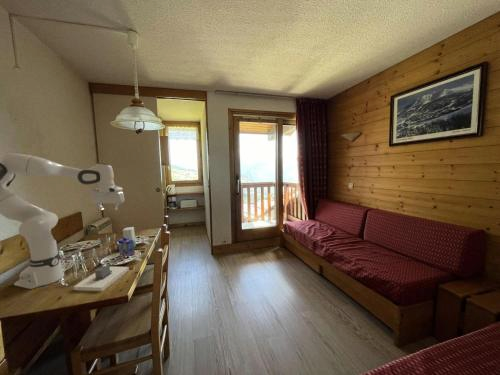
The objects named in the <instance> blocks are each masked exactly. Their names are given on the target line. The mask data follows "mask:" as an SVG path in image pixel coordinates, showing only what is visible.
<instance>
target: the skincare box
mask: <svg viewBox="0 0 500 375" xmlns="http://www.w3.org/2000/svg"><path fill="white" fill-rule="evenodd" d="M122 237H125V238H128V239H133V242H134V248H135V247H136V245H137V243H136V242H137V241H136V234H135V227H134V226H130V227H125V228H123V229H122Z"/></svg>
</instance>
